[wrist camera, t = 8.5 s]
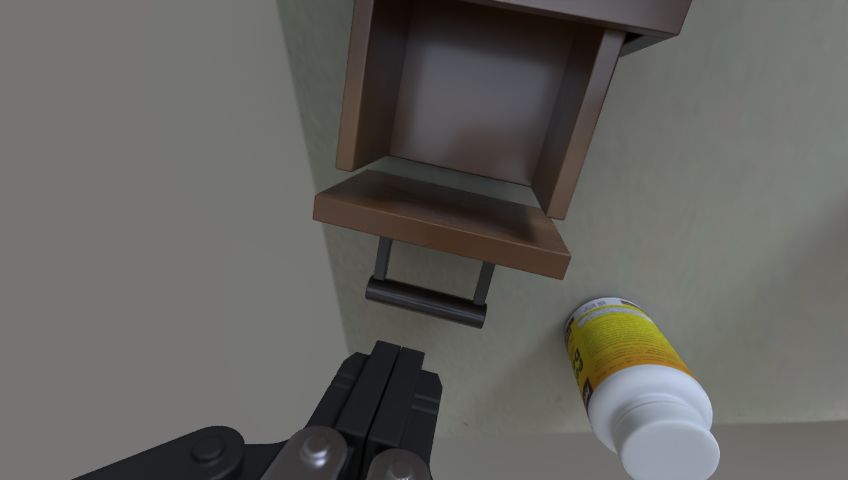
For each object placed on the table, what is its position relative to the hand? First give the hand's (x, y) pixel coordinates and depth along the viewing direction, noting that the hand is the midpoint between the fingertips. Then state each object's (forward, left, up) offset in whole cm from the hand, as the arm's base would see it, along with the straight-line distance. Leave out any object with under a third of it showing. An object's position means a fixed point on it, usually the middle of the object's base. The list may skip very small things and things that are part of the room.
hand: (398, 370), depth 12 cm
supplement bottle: (-12, +4, -15) cm, 20 cm away
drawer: (0, -6, -14) cm, 15 cm away
